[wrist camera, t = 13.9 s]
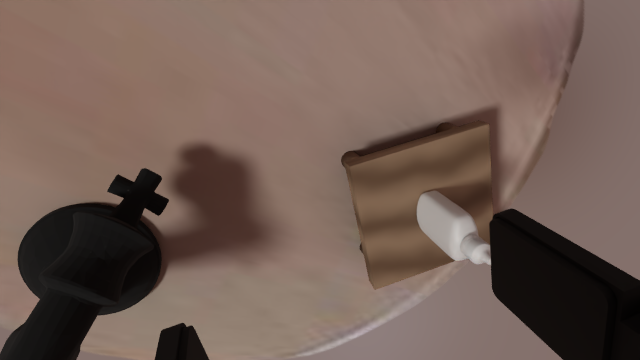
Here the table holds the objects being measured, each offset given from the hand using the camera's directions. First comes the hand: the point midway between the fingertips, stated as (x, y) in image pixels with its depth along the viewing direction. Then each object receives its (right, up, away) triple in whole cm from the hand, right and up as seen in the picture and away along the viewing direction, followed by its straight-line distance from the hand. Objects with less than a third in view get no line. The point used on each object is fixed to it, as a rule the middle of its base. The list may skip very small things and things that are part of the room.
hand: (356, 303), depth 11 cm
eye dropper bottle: (+13, 0, +36) cm, 38 cm away
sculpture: (-26, -3, +34) cm, 43 cm away
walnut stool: (+11, +2, +42) cm, 44 cm away
